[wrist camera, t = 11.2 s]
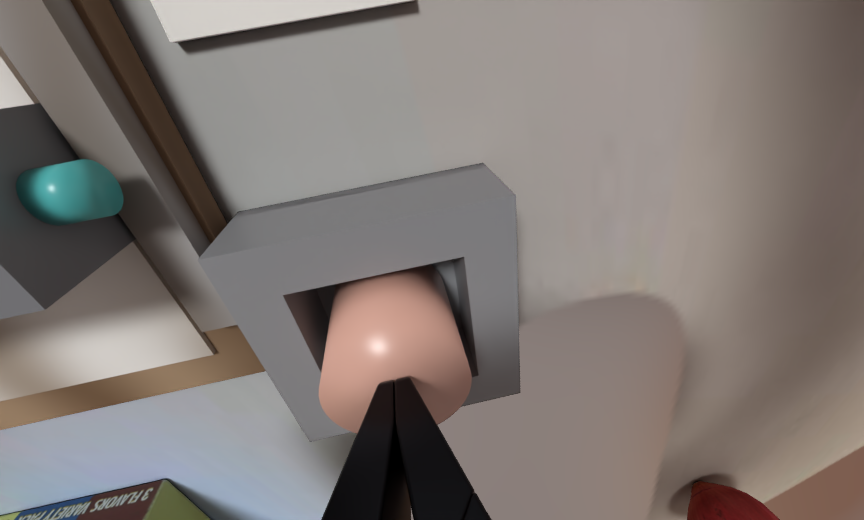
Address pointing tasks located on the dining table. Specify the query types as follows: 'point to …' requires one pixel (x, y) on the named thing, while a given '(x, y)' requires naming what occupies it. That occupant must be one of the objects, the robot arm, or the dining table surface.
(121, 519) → the protein box
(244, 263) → the button housing
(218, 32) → the card
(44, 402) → the clipboard
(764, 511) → the onion
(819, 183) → the dining table surface
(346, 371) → the button
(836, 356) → the dining table surface
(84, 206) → the block
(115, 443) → the dining table surface
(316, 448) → the dining table surface
